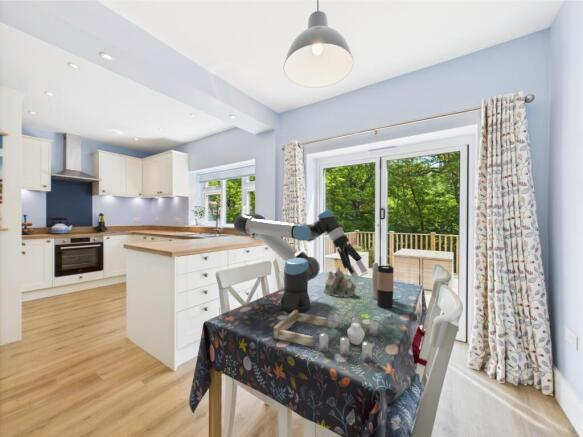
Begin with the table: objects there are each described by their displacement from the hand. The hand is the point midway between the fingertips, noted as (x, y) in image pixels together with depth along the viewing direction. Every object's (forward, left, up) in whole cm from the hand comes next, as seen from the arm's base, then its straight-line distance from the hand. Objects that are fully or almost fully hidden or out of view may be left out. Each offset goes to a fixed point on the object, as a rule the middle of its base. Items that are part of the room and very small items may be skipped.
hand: (361, 275), depth 124 cm
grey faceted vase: (+4, -35, -17) cm, 39 cm away
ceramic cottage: (-15, +21, -17) cm, 31 cm away
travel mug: (+11, +10, -17) cm, 22 cm away
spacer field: (+2, -35, -16) cm, 39 cm away
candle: (+10, +24, -17) cm, 31 cm away
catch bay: (-17, -35, -16) cm, 42 cm away
